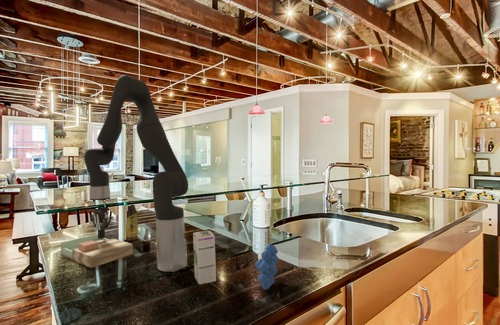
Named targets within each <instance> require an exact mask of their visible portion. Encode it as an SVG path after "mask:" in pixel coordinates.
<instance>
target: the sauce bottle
mask: <svg viewBox="0 0 500 325" xmlns="http://www.w3.org/2000/svg"><path fill="white" fill-rule="evenodd" d="M138 225H139V224H138V211H137V209H136V206H135V205H131V206H128V211H127V227H126V240H127V241H126V242H129V241H135V240H137V239H138V236H139V233H138V232H139V230H138Z"/></svg>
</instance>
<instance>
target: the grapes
mask: <svg viewBox="0 0 500 325" xmlns="http://www.w3.org/2000/svg"><path fill="white" fill-rule="evenodd" d="M278 253H279V251H278V249H277V247H276V246H275V245H273V244H272V243H269V244H267V245H266V246H265V247H264V251H263V252H262V253H261V254H260V256H261V258H259V259H258V260H257V261H256V262H255V264H254V265H255V268H256V270H258V271H260V274H259V275H258V281H259V282H260V285H261V287H262V289H263V290H268V289H270V288H271V286H272V285H274V284H275V282H276V280H275V278H274V276H275V275H276V274H277V273H278V272H279V271H278V268H277V267H278V266H277V263H278V262H279V261H280V260H279V257H278V256H277V254H278Z"/></svg>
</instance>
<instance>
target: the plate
mask: <svg viewBox="0 0 500 325" xmlns="http://www.w3.org/2000/svg"><path fill="white" fill-rule="evenodd" d="M98 243H99V248H95V249H91V250H88V251H83V250H80V249H78V248H76V249H72V254H73V260H72V261H74V262H77V263H79V264H81V265H83V266H86V267H88V268H90V269H92V268H95V267H98V266H101V265H104V264H107V263H110V262H113V261H116V260H119V259H123V258H125V257H129V256H132V255H134V248H133V247H134V246H133V243H131V242H128V241H125V240H124V241H123V240H120V239H116V238H110V239H109V240H106V241H102V242H98Z"/></svg>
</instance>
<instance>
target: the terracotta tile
mask: <svg viewBox="0 0 500 325" xmlns="http://www.w3.org/2000/svg"><path fill="white" fill-rule="evenodd" d="M95 248H99V243H98V242H96V241H93V240H91V241H87V242H83V243H79V244H78V249H80V250H83V251H88V250H91V249H95Z"/></svg>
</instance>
